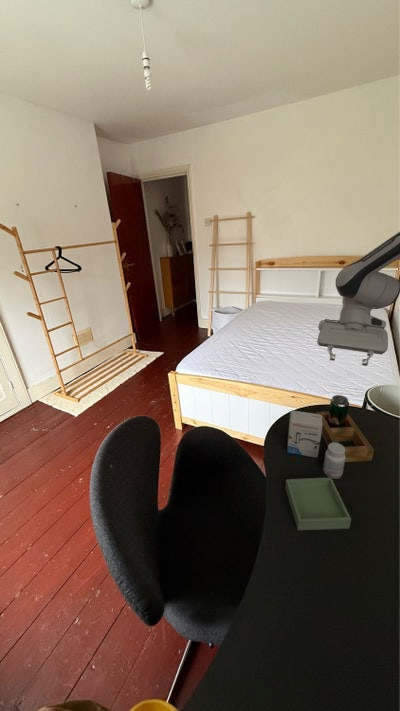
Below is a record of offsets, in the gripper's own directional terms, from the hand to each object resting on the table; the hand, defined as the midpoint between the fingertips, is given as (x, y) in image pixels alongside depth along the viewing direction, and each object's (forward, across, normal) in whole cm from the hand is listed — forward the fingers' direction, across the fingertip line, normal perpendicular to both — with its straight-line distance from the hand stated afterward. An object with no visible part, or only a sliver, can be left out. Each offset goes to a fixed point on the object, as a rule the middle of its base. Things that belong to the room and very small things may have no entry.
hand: (348, 362), depth 94 cm
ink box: (+30, -9, -4) cm, 31 cm away
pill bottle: (+33, -1, -9) cm, 35 cm away
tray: (+42, -5, -18) cm, 46 cm away
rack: (+24, +1, +1) cm, 24 cm away
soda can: (+22, 0, +4) cm, 22 cm away
